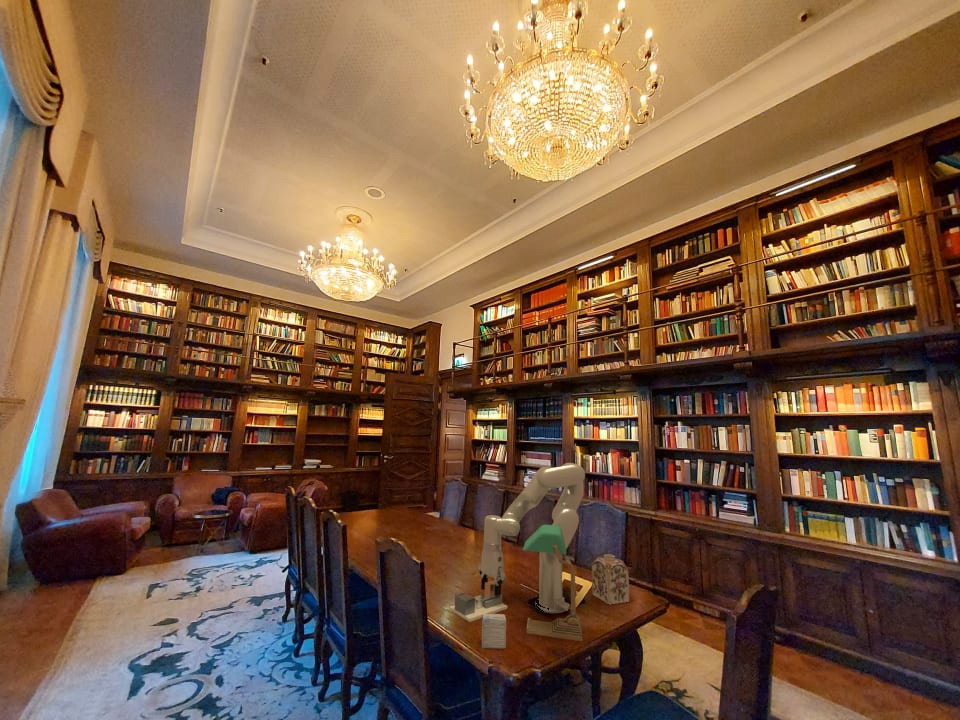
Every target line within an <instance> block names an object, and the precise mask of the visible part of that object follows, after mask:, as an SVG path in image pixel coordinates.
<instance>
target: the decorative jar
mask: <svg viewBox="0 0 960 720" xmlns="http://www.w3.org/2000/svg"><path fill="white" fill-rule="evenodd" d="M629 577H630V576H629V569H628V567H627V565H626V564H625V562H624V561H623V560H621V559H618V558H616V557H615V555H613V554H610V553H608V554H607V553H606V554H603V556H598V557H596V558H595V560H594V561H593V562H592V563H591V589H592V596H593V597H595V598H597V599H598V600H600V601H602V602H603V601H604V603H605V604H607V605H608V604H609V606H611V605H612V604H613V605H618V604H619V603H620V604H626V602H627V603H630V581H629Z"/></svg>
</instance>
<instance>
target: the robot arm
mask: <svg viewBox="0 0 960 720" xmlns="http://www.w3.org/2000/svg"><path fill="white" fill-rule="evenodd" d="M585 478H586V472H585V470H584V468H583V467H582V466H581V465H580V464H578V463H574V462H566V463H564V464H562V465H560V466H554V467H548V466H542V467H540V468H539V469H538V470H537V471H536V472H535V473H534V475H533V477H531V479H530V480H529V482H528V483H527V485H526V486H525V487H524V489H523V490H522V491H521V493H519V494H518V496H517V497H516V498H515V500H513V502H512V503H511V504H510V505H509V507H508V508H507V509H506V510H505V512H504V514H503V515H502V516H499V515H496V514H491V515H486V516H485V517H484V525H483V547H482V551H481V561H480V564H478V566H477V568H478V571H479V575H480V579H481V582H480V583H481V585H480V588H481V589H480V590H483V591H484V590H485V582H488V581H489V578H488V577H490V578H493V579H494V580H493V581H494V582H495V583H496V585H495V590H494V595H495V596H498V595H502V585H503V583H504V582H505V580H506V579H507V575H506V573H505V572H504V571H505V568H504V564H505V563H504V555H503V551H502V549H503V547H502V535H503V536H508V537H514V536H517V535H518V534H519V532H520V529H521V526H520V521H521V520H522V519H523V517H524V516H525V515H526V514H527V513H528V512H529V511H530V510H531V509H534V508H536V507H537V506H538V505H539V504H540V502H542V499H543V498H544V497H545V495H546V494H547V492H548V491H549V490H550V489H560V488H563V490H562V492H561V495H560V496H559V498H558V500H557V503H556V504H555V506H554V507H553V510H552V513H551V517H552V520H553V523H552V524H551V525H557V526H559V527H560V528H561V530H562V534H563V537H564V541H565V544H566V550H567V549H568V547H569V546H570V544H571V541H572V540H573V537H574V536H575V533H576V531H577V529H578V527H579V521H580V520H579V519H580V518H579V514H578V513H577V511H578V508H579V506H580V504H581V501H582V498H583V496H584V482H583V481H584V480H585ZM538 553H539V554H538V555H539V571H538V573H539V577H538V578H539V579H538V580H539V581H538V582H539V588H538V589H539V591H538V592H539V594H538V595H539V596H538V597H539V598H538V600H539V604H540V605H541V606H543V607H545V608H543V607H540V606H538V605H537V606H538V607H539V608H540V609H541V610H543V611H544V612H543V611H542V612H543V613H548V614H561V613H564V612H567V611H569V607H570V603H568V602H566V601H565V597H564V596H563V564H562V563H560V562H559V561H558V558H557V555H556V554H555V553H545V552H538ZM561 556H562V555H561ZM562 557H563V556H562ZM536 604H537V603H536V602H535V605H536ZM547 608H549V610H548V609H547ZM541 610H540V611H541Z"/></svg>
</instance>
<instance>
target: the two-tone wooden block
mask: <svg viewBox="0 0 960 720" xmlns="http://www.w3.org/2000/svg"><path fill="white" fill-rule="evenodd" d="M495 585H496V583H495V580H488V582H485V589H484V594H480V595H479V594H478V595H476V596H473V597H474V598H475V608H477V609H478V608H481V607H484V602H485V601H488V600H491V599H494V598H497V597H498V596H495V595H494V590H495Z"/></svg>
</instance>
